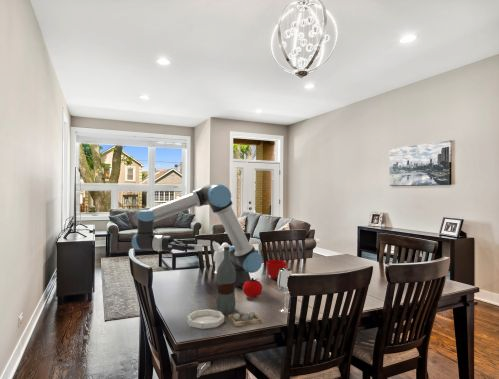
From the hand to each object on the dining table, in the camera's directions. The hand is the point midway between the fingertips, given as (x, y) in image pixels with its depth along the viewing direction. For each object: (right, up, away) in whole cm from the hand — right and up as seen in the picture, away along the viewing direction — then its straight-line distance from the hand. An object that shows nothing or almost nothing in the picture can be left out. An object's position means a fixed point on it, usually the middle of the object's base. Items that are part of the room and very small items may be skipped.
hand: (206, 245), depth 160 cm
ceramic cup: (+39, -31, +56) cm, 75 cm away
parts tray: (+18, -31, -14) cm, 38 cm away
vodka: (+9, -31, -1) cm, 32 cm away
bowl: (+2, -31, -15) cm, 34 cm away
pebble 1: (+15, -30, -14) cm, 36 cm away
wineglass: (+37, -31, -1) cm, 49 cm away
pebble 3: (+21, -30, -12) cm, 39 cm away
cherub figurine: (+2, -30, +64) cm, 71 cm away
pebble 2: (+19, -30, -15) cm, 39 cm away
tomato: (+22, -31, +19) cm, 42 cm away
